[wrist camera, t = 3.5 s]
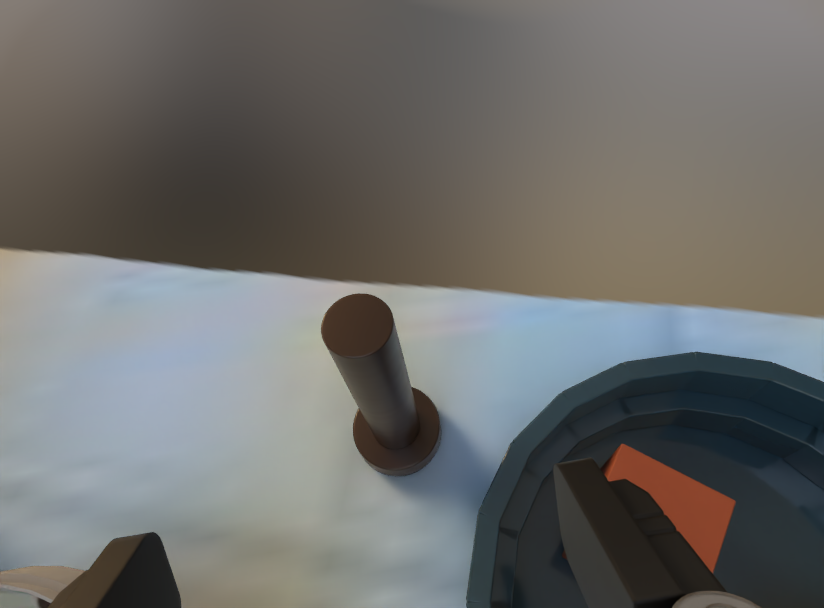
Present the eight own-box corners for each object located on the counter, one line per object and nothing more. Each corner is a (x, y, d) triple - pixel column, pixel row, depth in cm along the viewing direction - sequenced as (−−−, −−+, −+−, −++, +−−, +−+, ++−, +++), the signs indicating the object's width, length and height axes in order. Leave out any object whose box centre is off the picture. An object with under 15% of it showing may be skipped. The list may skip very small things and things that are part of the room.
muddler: (348, 467, 25) (273, 375, 16) (368, 387, 27) (312, 261, 17) (432, 484, 24) (408, 397, 15) (447, 400, 26) (434, 276, 17)
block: (560, 556, 22) (578, 544, 18) (599, 468, 23) (622, 442, 20) (661, 616, 20) (699, 616, 17) (695, 519, 22) (737, 500, 18)
